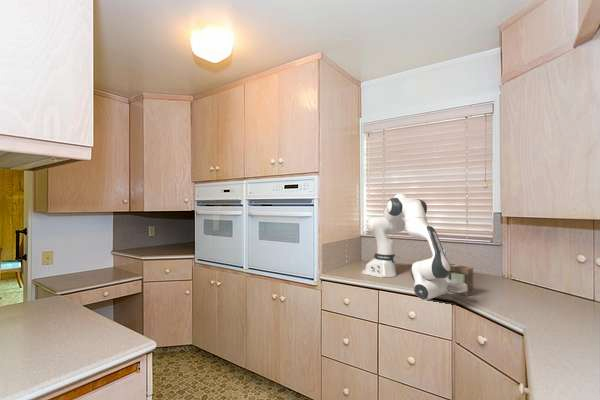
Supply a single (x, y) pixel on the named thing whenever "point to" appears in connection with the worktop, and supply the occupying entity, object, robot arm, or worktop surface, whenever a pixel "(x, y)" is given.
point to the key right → (458, 277)
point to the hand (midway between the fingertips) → (452, 281)
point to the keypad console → (469, 277)
